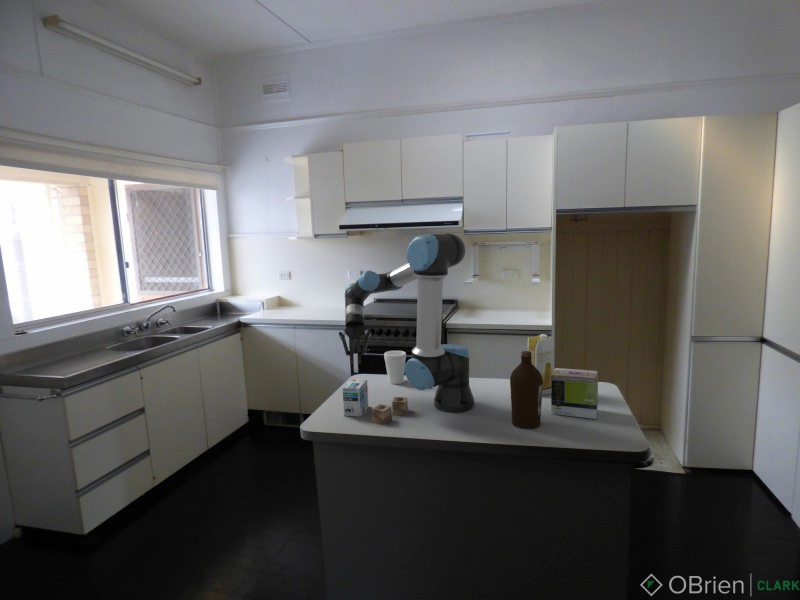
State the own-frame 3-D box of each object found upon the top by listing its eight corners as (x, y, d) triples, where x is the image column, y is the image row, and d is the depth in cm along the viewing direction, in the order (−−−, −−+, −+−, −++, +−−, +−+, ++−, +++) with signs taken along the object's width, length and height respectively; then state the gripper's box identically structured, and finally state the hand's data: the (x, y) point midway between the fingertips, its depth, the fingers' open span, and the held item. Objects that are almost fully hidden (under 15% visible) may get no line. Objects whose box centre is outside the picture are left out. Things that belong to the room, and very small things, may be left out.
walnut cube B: (391, 419, 171) (391, 405, 170) (384, 424, 167) (383, 410, 166) (380, 417, 174) (379, 403, 173) (372, 422, 169) (371, 408, 169)
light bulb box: (361, 417, 174) (359, 388, 173) (343, 416, 176) (341, 387, 174) (369, 406, 184) (367, 379, 183) (352, 405, 186) (350, 378, 184)
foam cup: (387, 378, 217) (386, 350, 215) (407, 378, 216) (406, 350, 214) (383, 385, 208) (382, 356, 206) (405, 385, 207) (404, 356, 205)
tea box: (597, 409, 173) (598, 370, 171) (596, 420, 164) (597, 378, 162) (554, 404, 179) (554, 366, 177) (550, 414, 170) (551, 374, 168)
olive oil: (510, 429, 159) (509, 355, 156) (510, 416, 170) (510, 347, 166) (543, 431, 157) (544, 356, 153) (541, 418, 167) (542, 348, 164)
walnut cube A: (407, 409, 180) (407, 396, 179) (406, 415, 175) (405, 401, 174) (394, 409, 180) (394, 396, 179) (392, 414, 175) (392, 401, 175)
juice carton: (539, 398, 187) (539, 337, 183) (524, 392, 193) (524, 334, 190) (556, 393, 191) (556, 334, 188) (541, 387, 198) (541, 330, 194)
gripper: (371, 322, 196) (373, 374, 182) (339, 324, 195) (339, 376, 181) (370, 311, 190) (373, 364, 176) (337, 313, 189) (337, 366, 175)
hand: (356, 370), depth 178 cm, fingers closed
